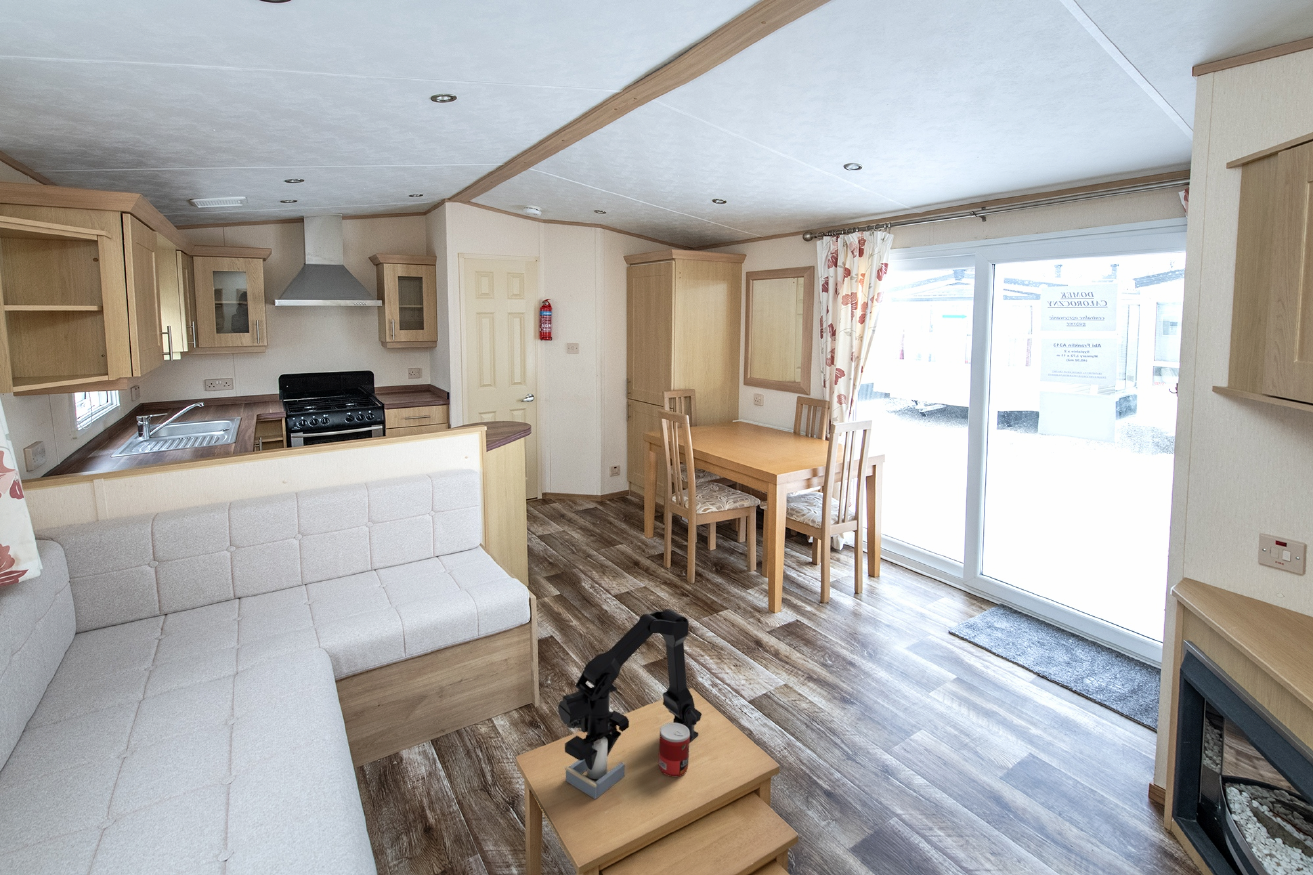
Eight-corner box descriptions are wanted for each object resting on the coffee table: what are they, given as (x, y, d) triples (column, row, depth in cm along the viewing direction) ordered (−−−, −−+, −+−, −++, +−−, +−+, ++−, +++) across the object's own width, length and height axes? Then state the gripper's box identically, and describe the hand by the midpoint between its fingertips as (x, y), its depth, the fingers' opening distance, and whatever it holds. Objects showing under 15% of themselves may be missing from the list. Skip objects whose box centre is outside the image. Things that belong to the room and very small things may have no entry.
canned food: (685, 779, 177) (687, 742, 175) (655, 774, 179) (657, 737, 177) (690, 761, 185) (691, 724, 182) (661, 756, 186) (662, 720, 184)
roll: (596, 762, 180) (597, 731, 179) (611, 771, 177) (611, 739, 175) (582, 772, 176) (583, 741, 174) (597, 781, 173) (598, 749, 171)
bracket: (595, 759, 184) (595, 745, 183) (624, 776, 178) (624, 762, 177) (564, 781, 175) (565, 767, 174) (594, 799, 169) (594, 785, 168)
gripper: (599, 682, 185) (598, 734, 188) (549, 713, 171) (549, 768, 174) (630, 698, 179) (629, 750, 182) (581, 731, 164) (580, 788, 167)
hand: (597, 763), depth 176 cm, fingers closed on roll, 5 cm apart
